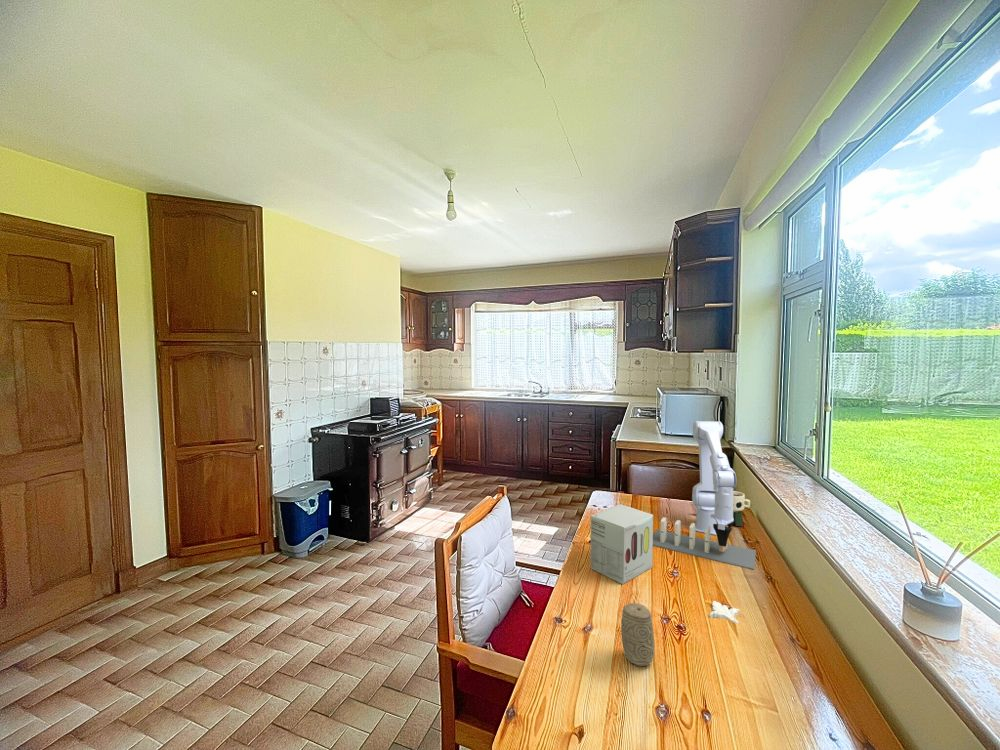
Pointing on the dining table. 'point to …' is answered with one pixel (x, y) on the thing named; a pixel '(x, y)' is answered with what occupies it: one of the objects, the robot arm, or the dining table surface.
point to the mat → (729, 556)
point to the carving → (637, 634)
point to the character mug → (739, 507)
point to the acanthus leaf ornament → (723, 612)
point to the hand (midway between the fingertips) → (723, 542)
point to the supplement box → (621, 542)
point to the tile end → (722, 548)
